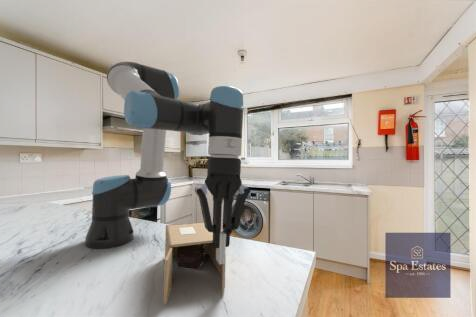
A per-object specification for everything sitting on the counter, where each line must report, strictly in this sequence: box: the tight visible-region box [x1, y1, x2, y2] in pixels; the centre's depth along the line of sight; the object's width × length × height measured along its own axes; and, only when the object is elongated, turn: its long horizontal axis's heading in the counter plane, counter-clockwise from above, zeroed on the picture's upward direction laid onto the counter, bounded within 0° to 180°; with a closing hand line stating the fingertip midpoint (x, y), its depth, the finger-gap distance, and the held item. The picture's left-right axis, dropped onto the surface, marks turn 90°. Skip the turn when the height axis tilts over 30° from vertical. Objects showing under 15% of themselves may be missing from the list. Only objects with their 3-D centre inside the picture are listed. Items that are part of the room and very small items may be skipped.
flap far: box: [221, 251, 227, 293], centre depth 52 cm, size 1×6×9 cm, turn 4°
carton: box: [164, 221, 222, 277], centre depth 61 cm, size 16×14×10 cm
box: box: [176, 244, 205, 271], centre depth 63 cm, size 6×6×7 cm
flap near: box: [163, 248, 173, 305], centre depth 48 cm, size 1×6×9 cm, turn 7°
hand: (220, 261), depth 49 cm, fingers closed
